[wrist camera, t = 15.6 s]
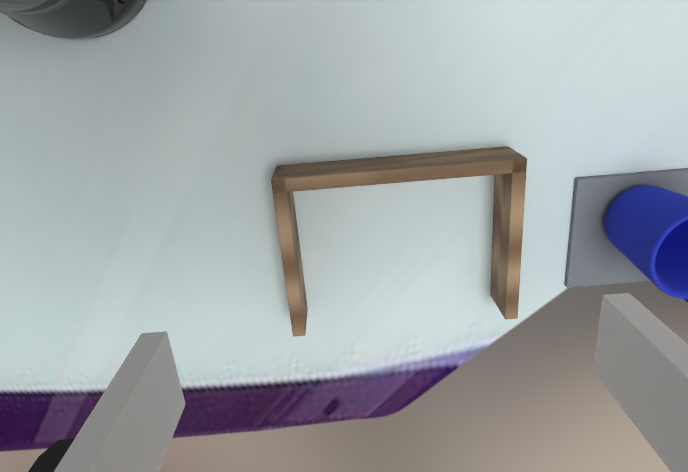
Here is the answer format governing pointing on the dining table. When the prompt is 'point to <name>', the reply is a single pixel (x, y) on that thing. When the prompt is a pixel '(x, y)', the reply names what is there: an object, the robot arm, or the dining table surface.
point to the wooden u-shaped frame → (406, 169)
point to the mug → (653, 235)
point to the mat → (589, 226)
